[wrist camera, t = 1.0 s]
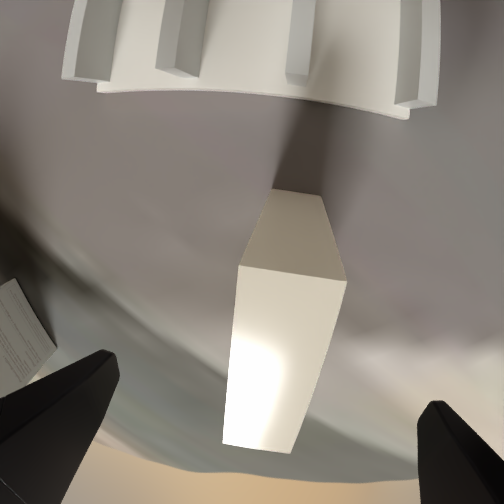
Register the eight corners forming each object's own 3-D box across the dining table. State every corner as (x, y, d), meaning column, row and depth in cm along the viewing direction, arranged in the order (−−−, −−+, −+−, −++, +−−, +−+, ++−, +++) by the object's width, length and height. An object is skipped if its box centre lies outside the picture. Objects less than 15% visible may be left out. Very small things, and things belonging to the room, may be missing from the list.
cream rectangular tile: (320, 196, 15) (346, 281, 7) (297, 317, 18) (289, 453, 9) (271, 188, 15) (238, 265, 7) (255, 311, 18) (222, 443, 10)
